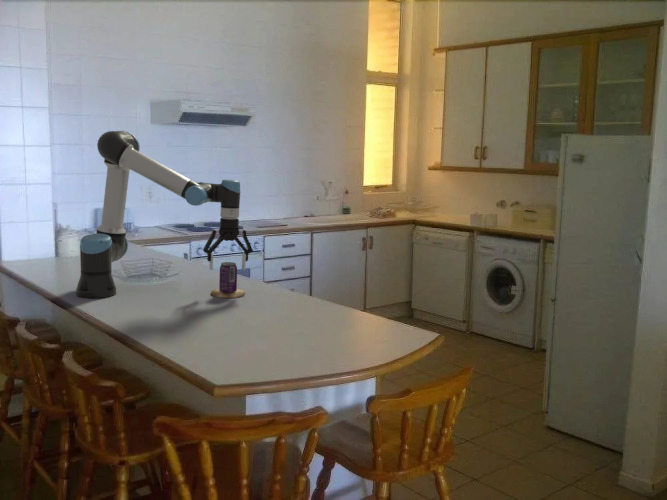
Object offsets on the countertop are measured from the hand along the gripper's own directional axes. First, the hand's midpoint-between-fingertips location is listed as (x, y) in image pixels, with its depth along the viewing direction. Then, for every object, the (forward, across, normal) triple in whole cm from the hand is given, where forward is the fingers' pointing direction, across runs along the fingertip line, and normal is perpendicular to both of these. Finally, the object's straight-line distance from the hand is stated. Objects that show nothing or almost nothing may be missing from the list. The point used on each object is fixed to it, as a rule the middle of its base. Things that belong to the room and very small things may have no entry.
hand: (227, 269), depth 285 cm
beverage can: (+10, +1, 0) cm, 10 cm away
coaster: (+10, +1, 0) cm, 11 cm away
